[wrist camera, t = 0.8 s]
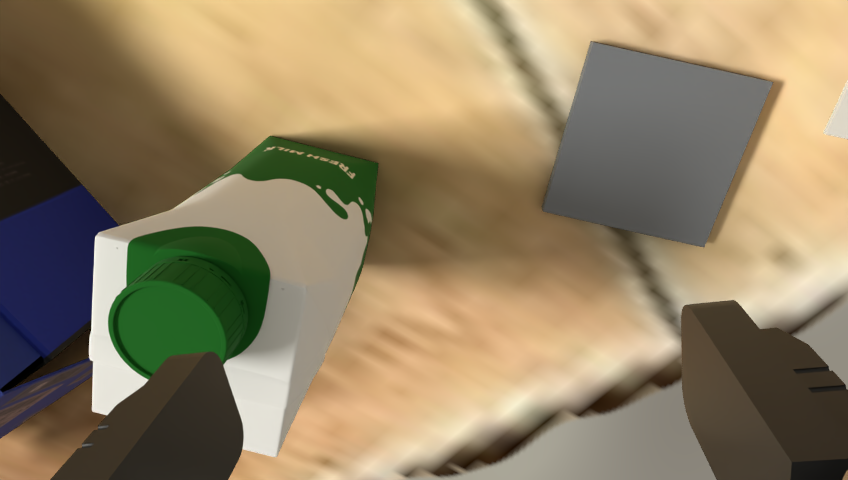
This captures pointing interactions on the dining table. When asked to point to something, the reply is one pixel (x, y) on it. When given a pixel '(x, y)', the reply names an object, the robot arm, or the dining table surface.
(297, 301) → the milk carton
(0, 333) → the headphone box
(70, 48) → the dining table surface
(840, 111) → the carton
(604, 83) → the felt mat
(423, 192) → the dining table surface
